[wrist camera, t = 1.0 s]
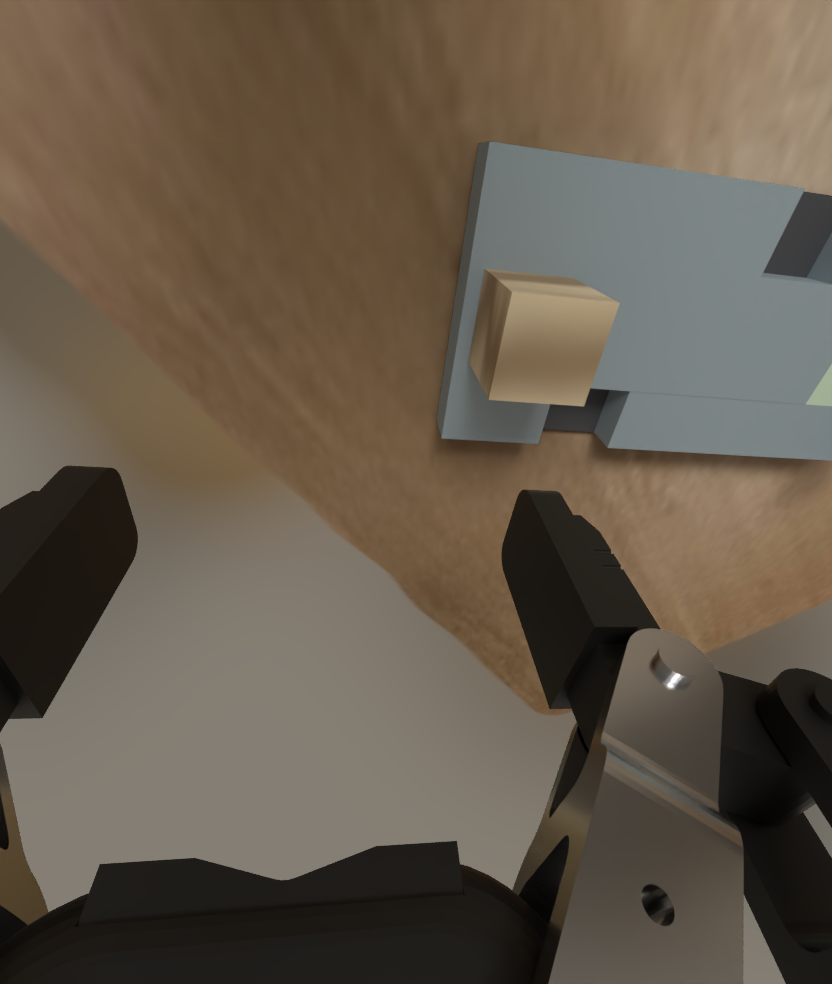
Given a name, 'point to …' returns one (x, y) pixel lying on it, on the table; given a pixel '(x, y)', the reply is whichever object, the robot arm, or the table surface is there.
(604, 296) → the beech block
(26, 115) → the table surface
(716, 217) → the plate
